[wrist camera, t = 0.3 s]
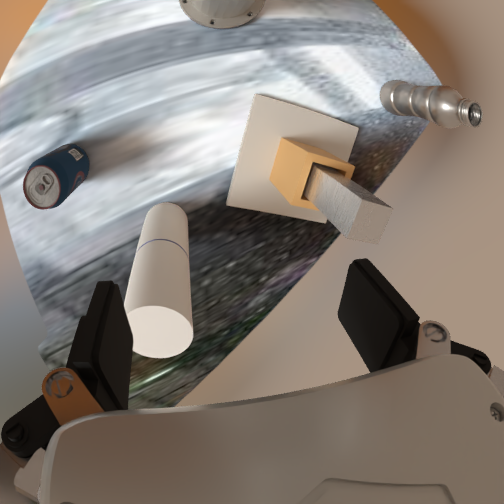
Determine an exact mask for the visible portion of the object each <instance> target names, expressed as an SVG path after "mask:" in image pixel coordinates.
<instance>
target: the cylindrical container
mask: <svg viewBox="0 0 504 504" xmlns="http://www.w3.org/2000/svg"><path fill="white" fill-rule="evenodd" d="M124 308H125V311H126V315H127V318H128V321H129V324H130V327H131V331H132V334H133V351H135V352H137V353H139V354H141V355H144V356H147V357H153V358H167V357H171V356H175V355H177V354H180V353H181V352H183V351H184V350H186V349H187V348H188V347H189V345H190V344H191V342H192V339H193V324H192V309H191V293H190V273H189V247H188V219H187V216H186V213H185V212H184V210H183V209H182V208H181V207H179V206H178V205H176V204H173V203H169V202H164V203H159V204H157V205H155V206H153V207H152V208H151V209H150V210H149V211H148V213H147V215H146V218H145V221H144V225H143V229H142V232H141V236H140V239H139V243H138V247H137V251H136V255H135V259H134V263H133V267H132V271H131V275H130V279H129V284H128V288H127V293H126V297H125V302H124Z"/></svg>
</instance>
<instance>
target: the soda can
mask: <svg viewBox="0 0 504 504" xmlns="http://www.w3.org/2000/svg"><path fill="white" fill-rule="evenodd" d="M88 171H89V160H88V157H87V155H86V153H85V151H84V150H83V149H82V148H80V147H79V146H77V145H74V144H66V145H63V146H61V147H59V148H57V149H55V150H54V151H52V152H50V153H48V154H46V155H45V156H43V157H41V158H39V159H38V160H36V161H35V162H33V163H32V164H31V166H30V167H29V169H28V171H27V174H26V176H25V178H24V182H23V190H24V194H25V197H26V199H27V200H28V202H29V203H30V204H31V205H32V206H34V207H35V208H38V209H51V208H55V207H57V206H59V205H60V204H61V203H62V202H63V201H64V200H65V199H66V198H67V197H68V196H69V195H70V194H71V193H72V192H73V191H74V190H75V189H76V188H77V187H78V186H79V185H80V184H81V183H82V182H83V181H84V180H85V178H86V177H87V175H88Z"/></svg>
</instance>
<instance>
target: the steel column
mask: <svg viewBox="0 0 504 504" xmlns="http://www.w3.org/2000/svg"><path fill="white" fill-rule="evenodd" d="M302 194H303V195H304V196H305V197H306V198H307V199H308V200H310V201H311V202H312V203H313V204H314V205H315V206H316V207H317V208H318V209H319V210H320V211H321V212H322V213H323V214H324V215H325V216H326V217H327V218H328V220H329V221H330V222H331V223H332V224H333V225H334V226H335V227H336V228H337V229H338V230H339V231H340V232H341V233H342V234H343V235H344V236H345V237H346V238H347V239H353V240H358V241H363V242H368V243H373V244H378V243H379V241H380V238H381V236H382V234H383V232H384V229H385V227H386V225H387V222H388V220H389V217H390V215H391V212H392V210H393V208H391V207H390V206H389V205H387V204H386V203H384V202H383V201H381V200H380V199H379V198H377V197H376V196H374V195H373V194H371V193H370V192H368V191H367V190H365V189H364V188H362V187H361V186H359V185H358V184H356V183H355V182H353V181H352V180H350V179H349V178H347V177H346V176H344V175H342V174H341V173H339V172H338V170H335V169H333V168H332V167H329V166H326V165H322V164H319V163H315V162H312V166H311V169H310V172H309V175H308V178H307V181H306V184H305V187H304V190H303V193H302Z"/></svg>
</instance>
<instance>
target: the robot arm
mask: <svg viewBox="0 0 504 504" xmlns="http://www.w3.org/2000/svg"><path fill="white" fill-rule="evenodd" d="M184 1H186V2H187V3H183V2H184ZM179 3H180V6H181V8H182V10H183V11H184V13H185V14H186V15H187V16H188V17H189V18H190V19H191V20H193V21H194V22H196V23H197V24H200V25H202V26H205V27H209V28H214V29H229V28H234V27H238V26H240V25H243V24H245V23H247V22H249V21H250V20H252V19H253V18H254V17H255V16H256V15H257V14H258V13H259V12H260V11H261V9H262V7H263V6H264V3H265V0H179ZM247 14H250V16H248V15H247ZM211 22H213V23H214V24H210V23H211ZM338 318H339V320H340V322H341V324H342V325H343V327H344V328H345V330H346V332H347V334H348V335H349V337H350V339H351V340H352V342H353V344H354V345H355V347H356V349H357V350H358V352H359V354H360V355H361V357H362V359H363V361H364V362H365V364H366V366H367V368H368V369H369V371H370V373H369V374H365V375H362V376H358V377H354V378H350V379H347V380H343V381H339V382H335V383H331V384H327V385H322V386H318V387H314V388H309V389H304V390H299V391H294V392H290V393H284V394H278V395H273V396H267V397H261V398H255V399H248V400H241V401H233V402H225V403H217V404H208V405H197V406H185V407H171V408H155V409H133V410H128V397H129V383H130V371H131V361H132V351H133V334H132V331H131V327H130V324H129V321H128V318H127V315H126V311H125V308H124V304H123V301H122V297H121V294H120V290H119V286H118V284H114V283H113V281H99V282H98V283H97V285H96V288H95V291H94V293H93V296H92V299H91V302H90V305H89V308H88V311H87V314H86V316H82V317H81V319H80V321H79V324H78V327H77V330H76V333H75V337H74V340H73V343H72V347H71V350H70V354H69V357H68V361H67V365H66V368H64V367H62V368H57V369H54V370H52V371H51V372H49V373H48V374H47V375H46V377H45V378H44V380H43V382H42V392H43V395H41V396H40V397H39V398H37V399H36V400H35V401H33V402H32V403H30V404H29V405H28V406H26V407H25V408H23V409H22V410H21V411H19V412H18V413H17V414H15V415H14V416H13V417H11V418H10V419H9V420H7V421H6V422H5V424H4V426H3V428H2V432H1V438H2V442H1V444H0V504H504V371H502V370H501V369H499V368H498V367H496V366H495V365H494V366H493V368H492V367H491V362H490V360H489V358H488V357H487V356H486V354H484V353H483V352H481V351H479V350H476V349H474V348H471V347H468V346H465V345H462V344H459V343H456V342H454V341H451V340H450V333H449V331H448V330H447V329H446V327H445V326H443V325H442V324H440V323H438V322H436V321H425V322H423V323H422V324H420V323H419V322H418V321H419V318H420V317H419V316H418V315H417V314H416V313H415V311H414V310H413V309H412V308H411V307H410V305H409V304H408V303H407V302H406V301H405V300H404V299H403V297H402V296H401V295H400V294H399V293H398V292H397V291H396V289H395V288H394V287H393V286H392V285H391V284H390V283H389V282H388V280H387V279H386V278H385V277H384V276H383V275H382V274H381V273H380V272H379V270H377V268H376V267H375V266H374V265H373V264H372V263H371V262H370V261H369V260H368V259H366V258H365V259H356V260H354V261H353V262H352V264H350V266H349V269H348V274H347V277H346V282H345V286H344V290H343V294H342V298H341V302H340V306H339V310H338ZM39 487H40V503H39V501H38V498H37V492H38V489H39Z"/></svg>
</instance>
